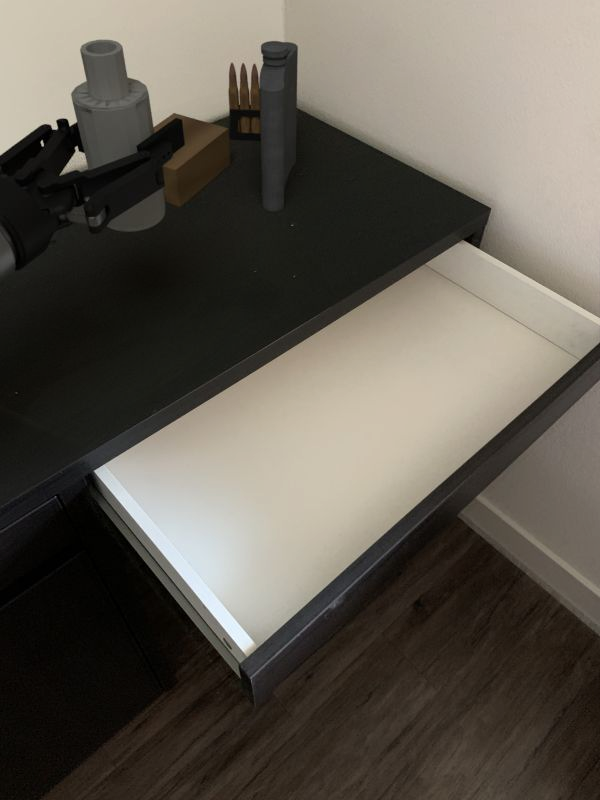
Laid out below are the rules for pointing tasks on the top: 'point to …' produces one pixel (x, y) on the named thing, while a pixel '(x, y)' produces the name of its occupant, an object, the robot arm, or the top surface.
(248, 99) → the ammunition clip
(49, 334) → the top surface
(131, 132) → the bottle
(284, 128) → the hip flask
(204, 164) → the plinth
